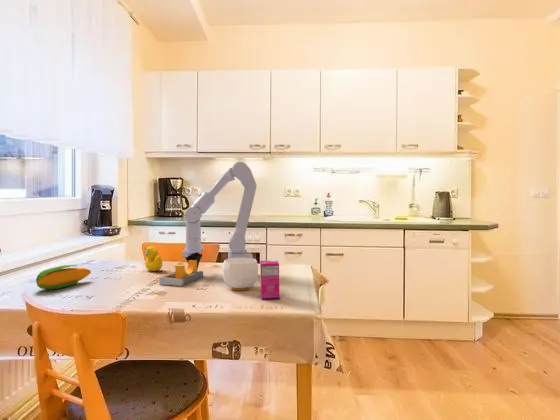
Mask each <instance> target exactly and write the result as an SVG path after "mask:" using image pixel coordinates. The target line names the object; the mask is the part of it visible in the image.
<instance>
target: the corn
mask: <svg viewBox="0 0 560 420" xmlns="http://www.w3.org/2000/svg"><path fill="white" fill-rule="evenodd" d="M77 266H78V264H66V265H59V266H55V267H51V268H48V269H44V270H43V271H41V272H40V273H38V274H37V276H36V280H35V282H36V285H37V287H39V288H40V289H43V290H47V291H52V290H57V289H63V288H66V287H71V286H74V285H76V284H78V283H79V282H80V281H82V280H84V279H85V278H87V277H88V276H89V275H90V274H91V273H92V270H90V269H88V268H86V267H77Z"/></svg>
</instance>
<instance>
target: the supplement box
mask: <svg viewBox="0 0 560 420" xmlns="http://www.w3.org/2000/svg"><path fill="white" fill-rule="evenodd" d="M259 264H260V265H259V270H260V273H259V275H260V276H259V277H260V296H261V300H262V301H266V300H267V301H269V300H270V301H271V300H275V301H277V300H280V299H281V298H280V263H279V261H278V260H277V259H271V260H269V259H268V260H265V259H264V260H260V263H259Z"/></svg>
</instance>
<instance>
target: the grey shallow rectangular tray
mask: <svg viewBox="0 0 560 420" xmlns="http://www.w3.org/2000/svg"><path fill="white" fill-rule="evenodd" d="M203 278H204V270H199V271H198V270H197V272H195V273H192V274H190V275H188V276H185V277H183V278H181V279H180V278H175V271H174V272H171V273H168V274H166V275H163V276H161V277H159V278H158V279H159V280H158V281H159V283H158V284H159V285H162V286H174V287H184V286H186V285H188V284H190V283H192V282H195V281H197V280H199V279H203Z"/></svg>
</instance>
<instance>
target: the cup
mask: <svg viewBox="0 0 560 420" xmlns="http://www.w3.org/2000/svg"><path fill="white" fill-rule="evenodd" d="M258 264H259V263H258V261H257V259H255V258H253V259H252V258H230V259H228V258H226V259H224V260H223V263H222V267H221V271H222V272H221V274H222V278H223V282H224V283H225V285H226V286H227V287H229V288H231V289H232V290H233V291H247V290H249V289H250V288H251V287H253V286H254V285H255V284H256V282H257V280H258V275H259V265H258Z"/></svg>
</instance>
